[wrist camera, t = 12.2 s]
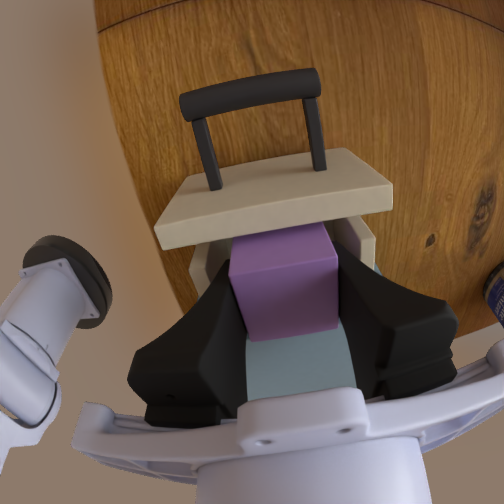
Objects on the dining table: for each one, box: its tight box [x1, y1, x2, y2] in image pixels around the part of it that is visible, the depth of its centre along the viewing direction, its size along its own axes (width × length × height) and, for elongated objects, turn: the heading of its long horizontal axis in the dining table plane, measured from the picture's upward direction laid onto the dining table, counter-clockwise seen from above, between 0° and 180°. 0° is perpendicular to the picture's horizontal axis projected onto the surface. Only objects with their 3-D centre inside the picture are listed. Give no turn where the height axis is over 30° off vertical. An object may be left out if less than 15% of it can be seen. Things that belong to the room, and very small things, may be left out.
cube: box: [228, 222, 339, 342], centre depth 13 cm, size 4×4×4 cm
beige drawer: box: [154, 68, 393, 297], centre depth 15 cm, size 17×10×7 cm, turn 12°
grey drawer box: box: [197, 262, 382, 401], centre depth 20 cm, size 14×11×9 cm
